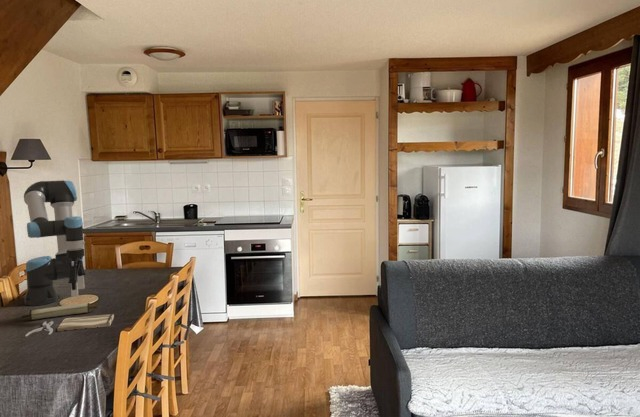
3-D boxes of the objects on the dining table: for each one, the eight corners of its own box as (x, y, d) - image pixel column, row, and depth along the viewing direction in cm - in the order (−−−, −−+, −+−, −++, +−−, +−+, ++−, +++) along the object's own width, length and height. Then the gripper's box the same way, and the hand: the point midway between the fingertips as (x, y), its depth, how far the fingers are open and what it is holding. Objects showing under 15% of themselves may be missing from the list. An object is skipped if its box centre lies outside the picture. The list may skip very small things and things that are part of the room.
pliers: (24, 333, 196) (37, 321, 211) (24, 337, 197) (37, 325, 211) (50, 331, 199) (61, 320, 213) (50, 335, 199) (61, 323, 213)
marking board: (65, 321, 215) (64, 318, 215) (114, 316, 221) (113, 313, 220) (57, 331, 202) (57, 327, 202) (109, 326, 208) (109, 322, 208)
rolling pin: (98, 310, 232) (97, 300, 231) (98, 313, 227) (97, 303, 226) (22, 319, 218) (21, 309, 218) (20, 323, 213) (19, 313, 213)
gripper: (77, 253, 211) (81, 298, 213) (89, 244, 235) (91, 285, 237) (59, 254, 209) (62, 300, 211) (72, 245, 233) (75, 286, 235)
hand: (78, 292), depth 224 cm, fingers open, 13 cm apart
